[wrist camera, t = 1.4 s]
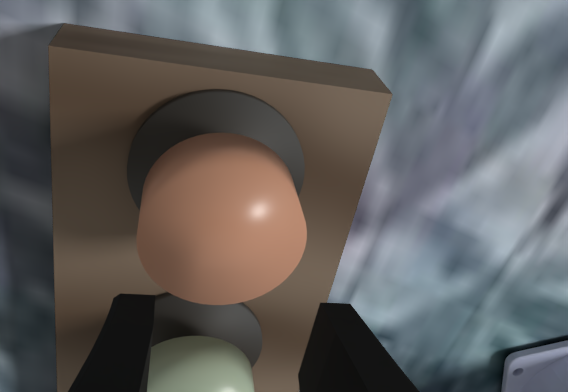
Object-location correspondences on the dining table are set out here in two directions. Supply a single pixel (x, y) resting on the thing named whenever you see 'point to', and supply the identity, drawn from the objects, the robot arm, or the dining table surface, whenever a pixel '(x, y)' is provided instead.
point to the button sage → (198, 366)
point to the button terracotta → (220, 220)
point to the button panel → (170, 131)
